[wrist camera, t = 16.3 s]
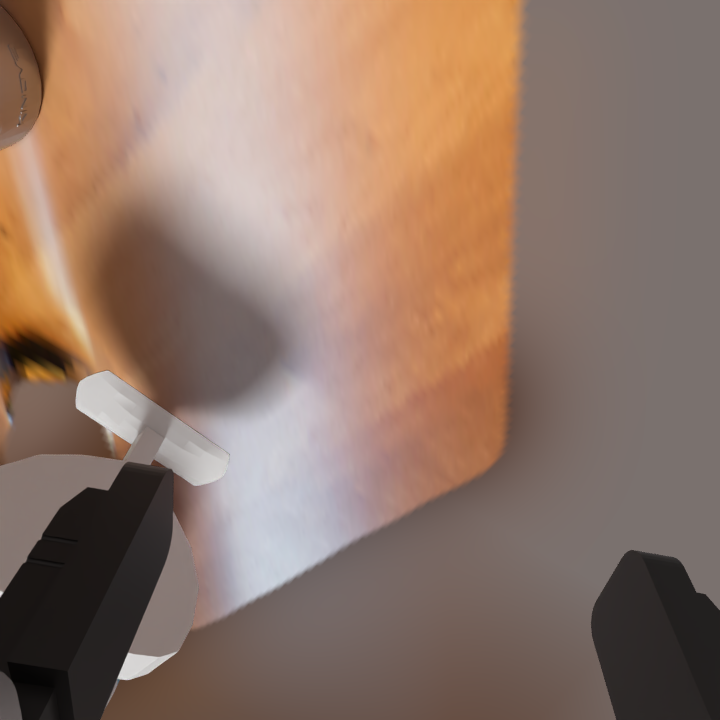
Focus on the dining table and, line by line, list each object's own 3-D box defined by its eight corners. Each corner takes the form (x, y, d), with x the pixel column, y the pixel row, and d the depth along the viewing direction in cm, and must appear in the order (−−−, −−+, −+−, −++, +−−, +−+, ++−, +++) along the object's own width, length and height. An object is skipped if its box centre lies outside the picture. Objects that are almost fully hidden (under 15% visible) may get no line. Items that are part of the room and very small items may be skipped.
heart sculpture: (53, 393, 47) (-114, 585, 32) (85, 354, 45) (-78, 539, 30) (213, 498, 52) (135, 708, 37) (248, 467, 50) (180, 677, 35)
